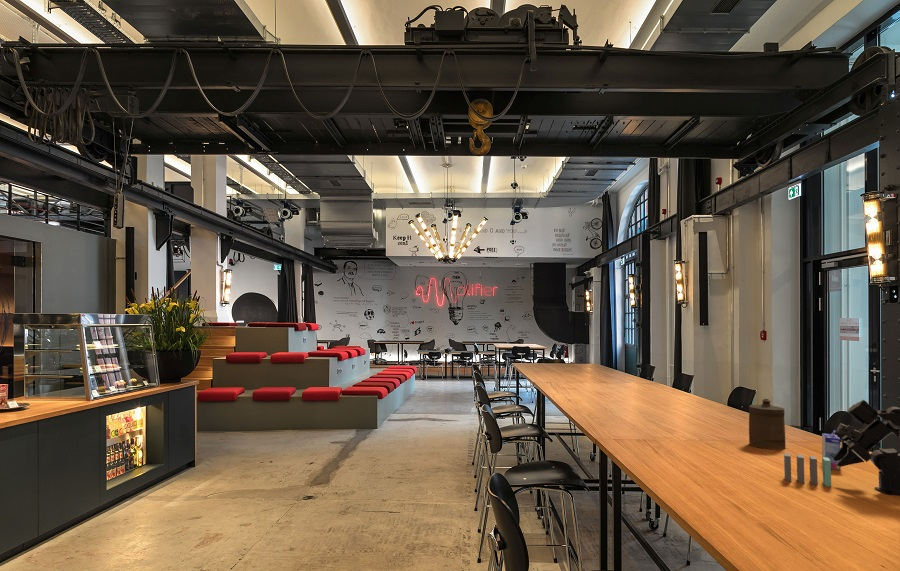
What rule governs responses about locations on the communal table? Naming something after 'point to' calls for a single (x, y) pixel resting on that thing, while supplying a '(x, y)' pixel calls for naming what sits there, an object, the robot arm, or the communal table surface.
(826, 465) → the domino
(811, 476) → the domino
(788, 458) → the domino end
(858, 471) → the communal table surface
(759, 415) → the wooden container
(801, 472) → the domino
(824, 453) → the ink cartridge box
